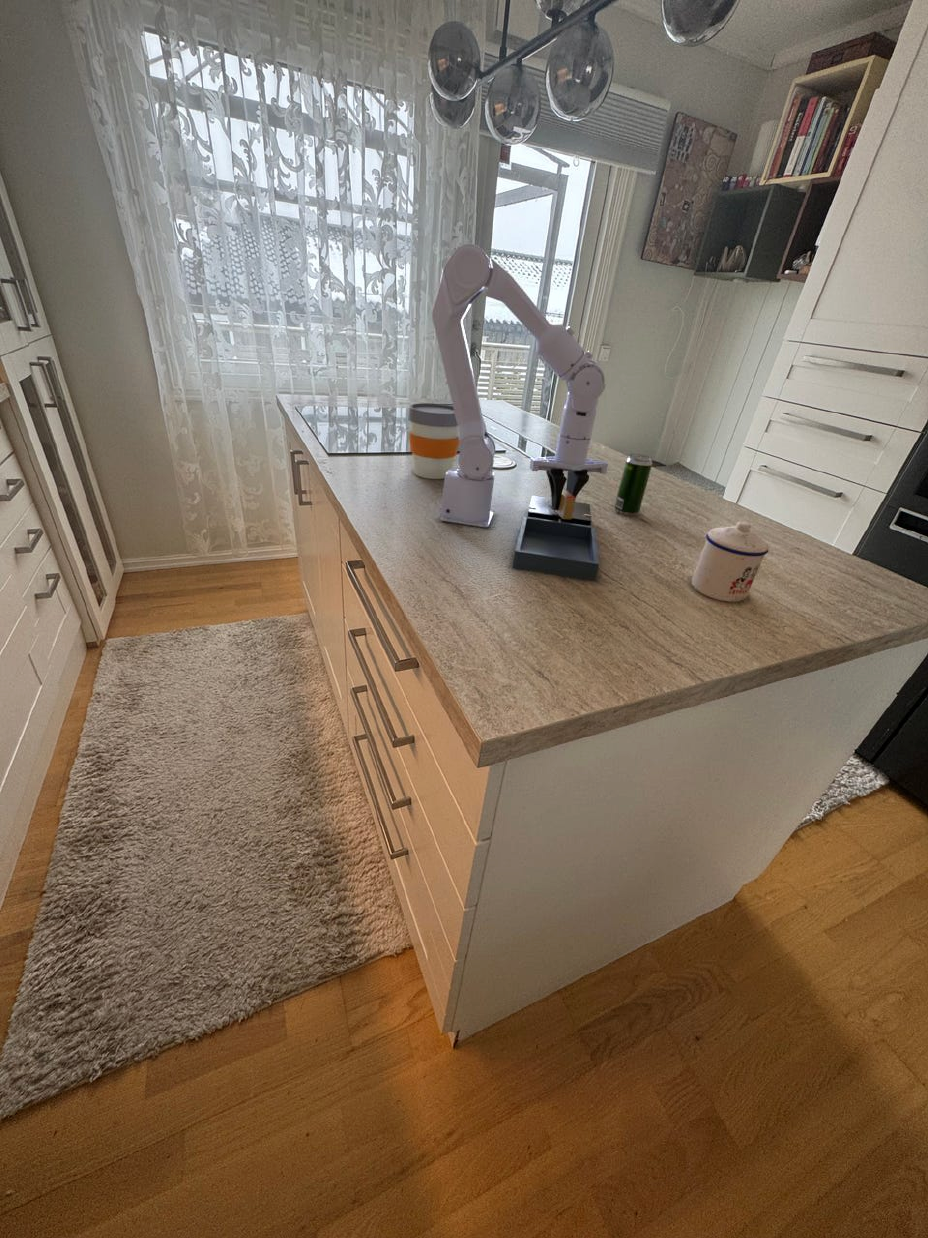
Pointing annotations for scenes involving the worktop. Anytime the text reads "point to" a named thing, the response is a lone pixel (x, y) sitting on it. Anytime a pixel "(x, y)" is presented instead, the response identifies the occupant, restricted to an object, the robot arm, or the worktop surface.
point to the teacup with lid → (729, 562)
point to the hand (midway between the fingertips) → (560, 508)
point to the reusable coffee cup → (433, 439)
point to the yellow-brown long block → (565, 505)
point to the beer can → (633, 484)
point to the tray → (557, 548)
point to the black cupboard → (545, 511)
